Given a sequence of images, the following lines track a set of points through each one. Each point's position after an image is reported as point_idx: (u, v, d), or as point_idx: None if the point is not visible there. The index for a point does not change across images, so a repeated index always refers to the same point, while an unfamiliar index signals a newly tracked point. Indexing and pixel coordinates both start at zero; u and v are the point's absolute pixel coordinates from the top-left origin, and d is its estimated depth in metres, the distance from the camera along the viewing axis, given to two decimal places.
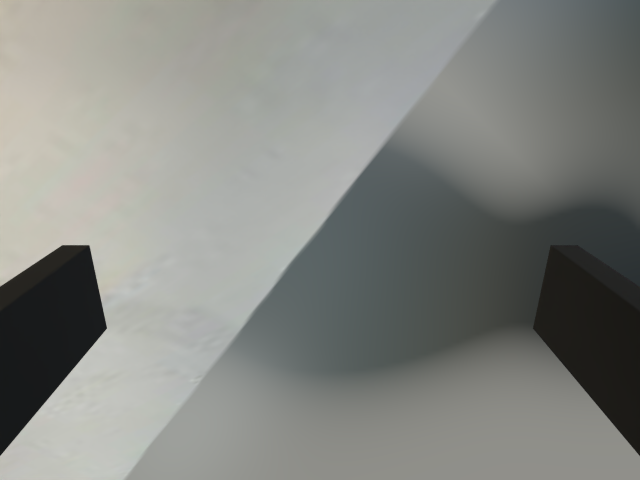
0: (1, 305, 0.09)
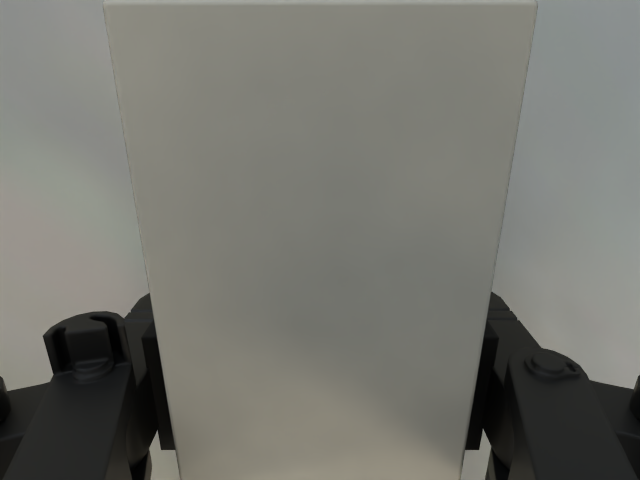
0: None
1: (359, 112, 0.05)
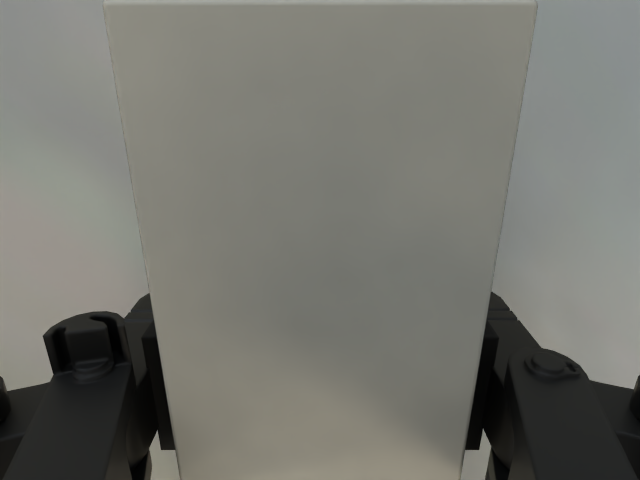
0: None
1: (358, 113, 0.05)
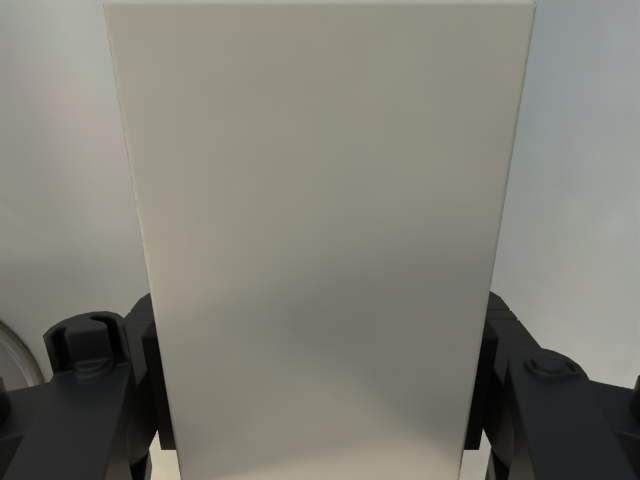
0: None
1: (357, 112, 0.05)
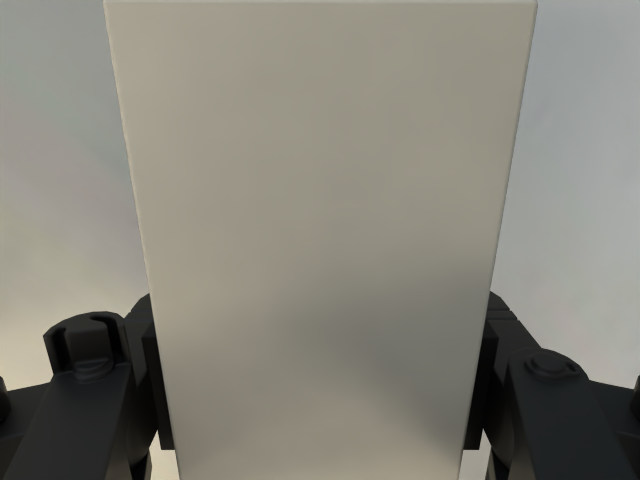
0: None
1: (358, 111, 0.05)
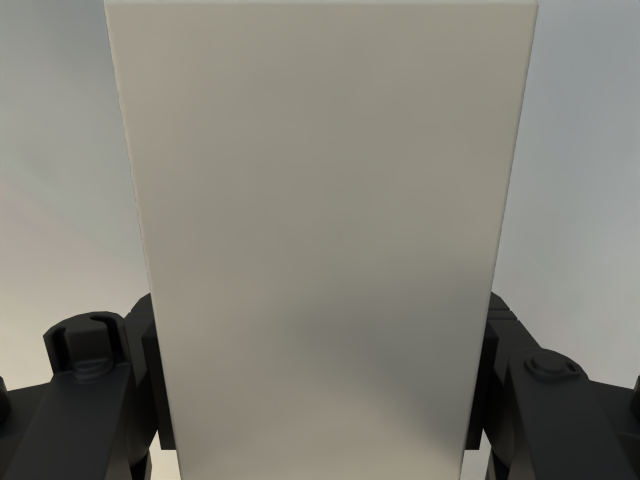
0: None
1: (359, 113, 0.05)
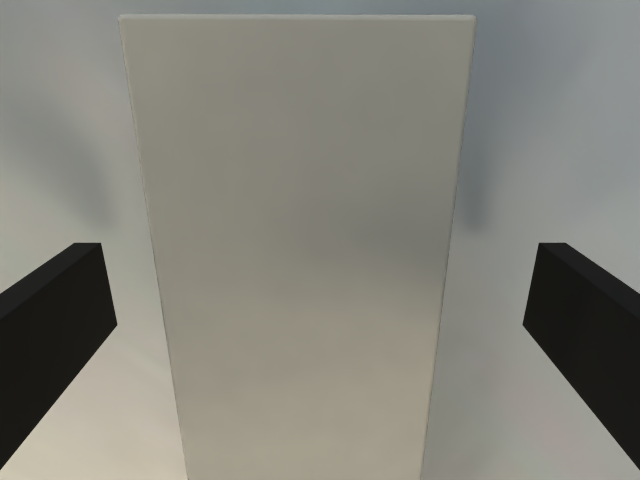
0: (18, 300, 0.09)
1: (330, 109, 0.06)
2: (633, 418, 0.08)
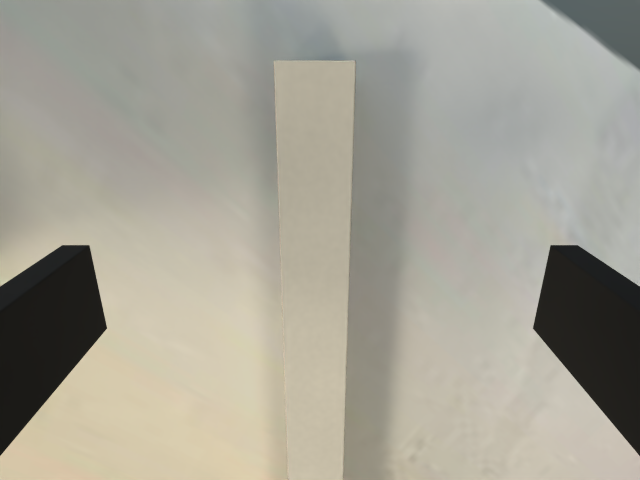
0: (1, 305, 0.09)
1: (322, 82, 0.26)
2: None
